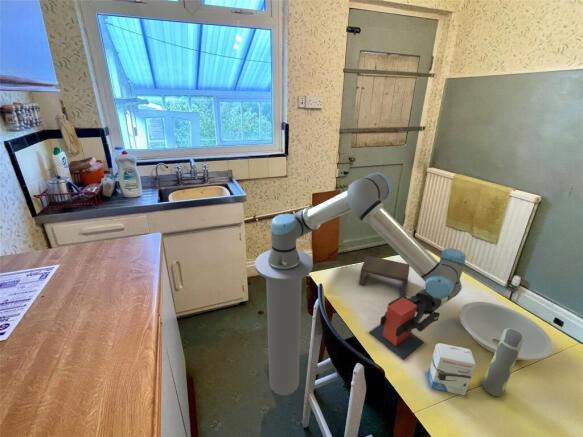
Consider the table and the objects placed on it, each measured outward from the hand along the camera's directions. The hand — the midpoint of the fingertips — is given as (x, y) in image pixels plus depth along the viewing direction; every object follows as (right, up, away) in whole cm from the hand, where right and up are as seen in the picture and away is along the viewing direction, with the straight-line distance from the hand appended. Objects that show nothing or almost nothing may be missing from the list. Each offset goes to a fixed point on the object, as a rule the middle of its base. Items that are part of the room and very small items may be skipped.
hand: (389, 326), depth 87 cm
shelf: (+9, +6, +34) cm, 36 cm away
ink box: (+12, -12, -9) cm, 20 cm away
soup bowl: (+36, -7, +5) cm, 37 cm away
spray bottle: (+24, -13, -10) cm, 29 cm away
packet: (+4, -5, +5) cm, 8 cm away
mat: (+4, -6, +6) cm, 9 cm away
